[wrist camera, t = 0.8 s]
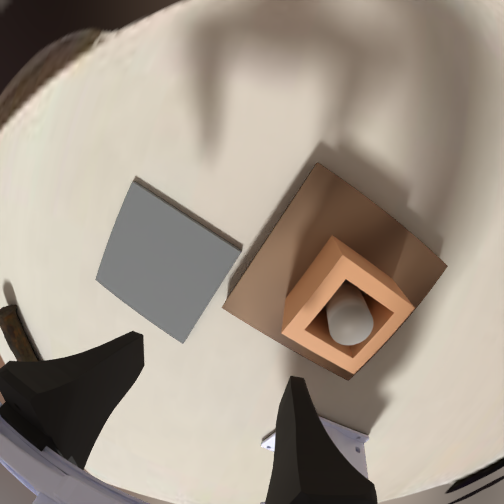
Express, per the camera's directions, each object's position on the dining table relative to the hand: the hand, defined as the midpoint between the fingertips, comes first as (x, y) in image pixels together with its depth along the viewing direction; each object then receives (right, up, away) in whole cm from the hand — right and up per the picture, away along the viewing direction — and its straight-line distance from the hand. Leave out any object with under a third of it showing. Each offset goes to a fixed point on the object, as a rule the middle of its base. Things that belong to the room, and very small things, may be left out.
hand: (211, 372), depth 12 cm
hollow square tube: (+8, +3, +6) cm, 11 cm away
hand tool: (-29, -10, +18) cm, 36 cm away
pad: (-6, +4, +10) cm, 12 cm away
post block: (+8, +3, +8) cm, 12 cm away
